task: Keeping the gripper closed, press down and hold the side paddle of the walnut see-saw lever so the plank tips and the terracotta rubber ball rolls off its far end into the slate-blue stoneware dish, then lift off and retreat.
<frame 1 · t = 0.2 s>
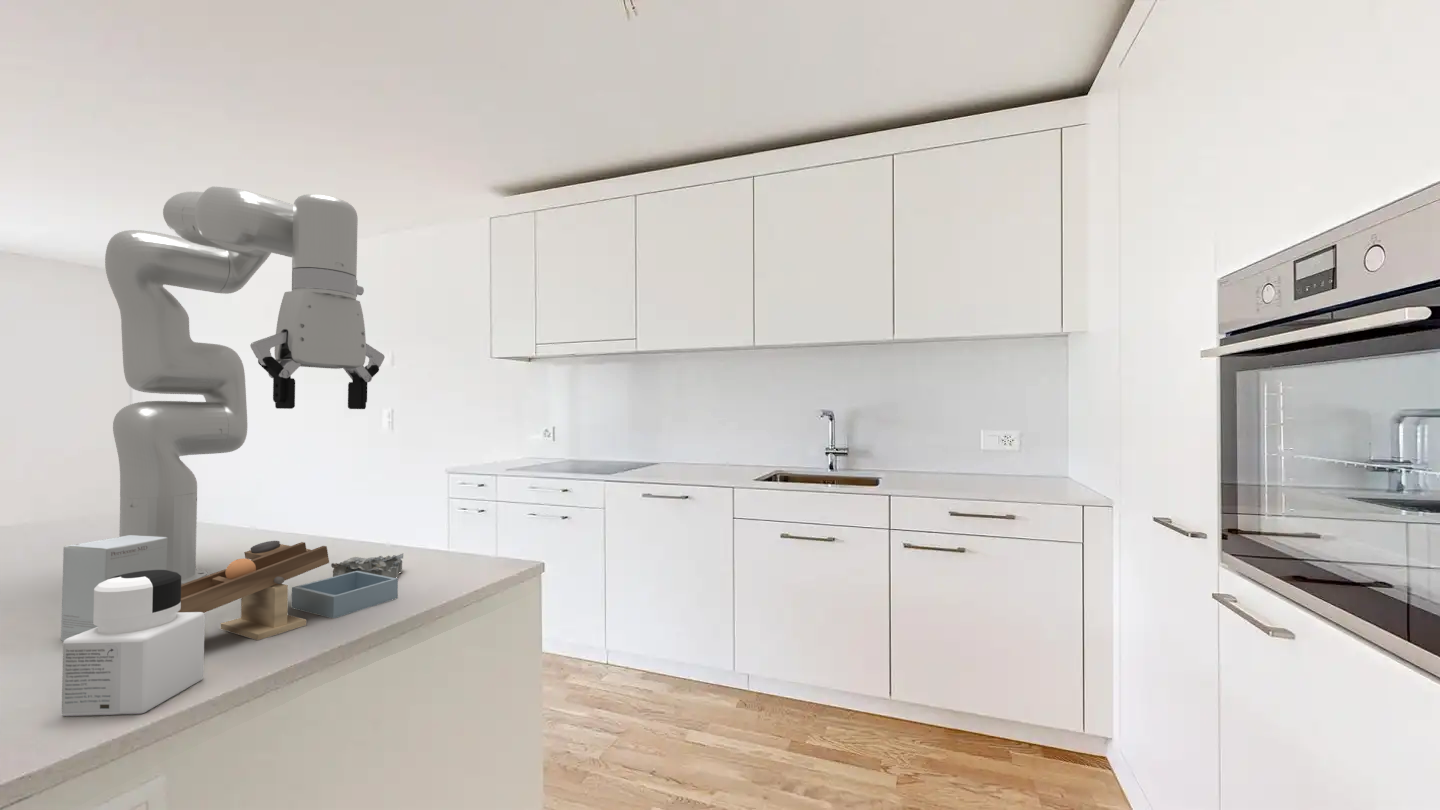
hand: (322, 408, 81), 31 cm above the counter, tool pointing down, fingers open, 9 cm apart
supplement box: (115, 635, 78), on the counter
lever: (224, 575, 80), point 7 cm above the counter, hinge at 10.0°, touching ball
egg carton: (368, 579, 105), on the counter
dish: (346, 604, 91), on the counter
ball: (240, 570, 78), point 9 cm above the counter, tilted 6°, touching lever
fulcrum: (263, 627, 81), on the counter
container: (137, 699, 61), on the counter
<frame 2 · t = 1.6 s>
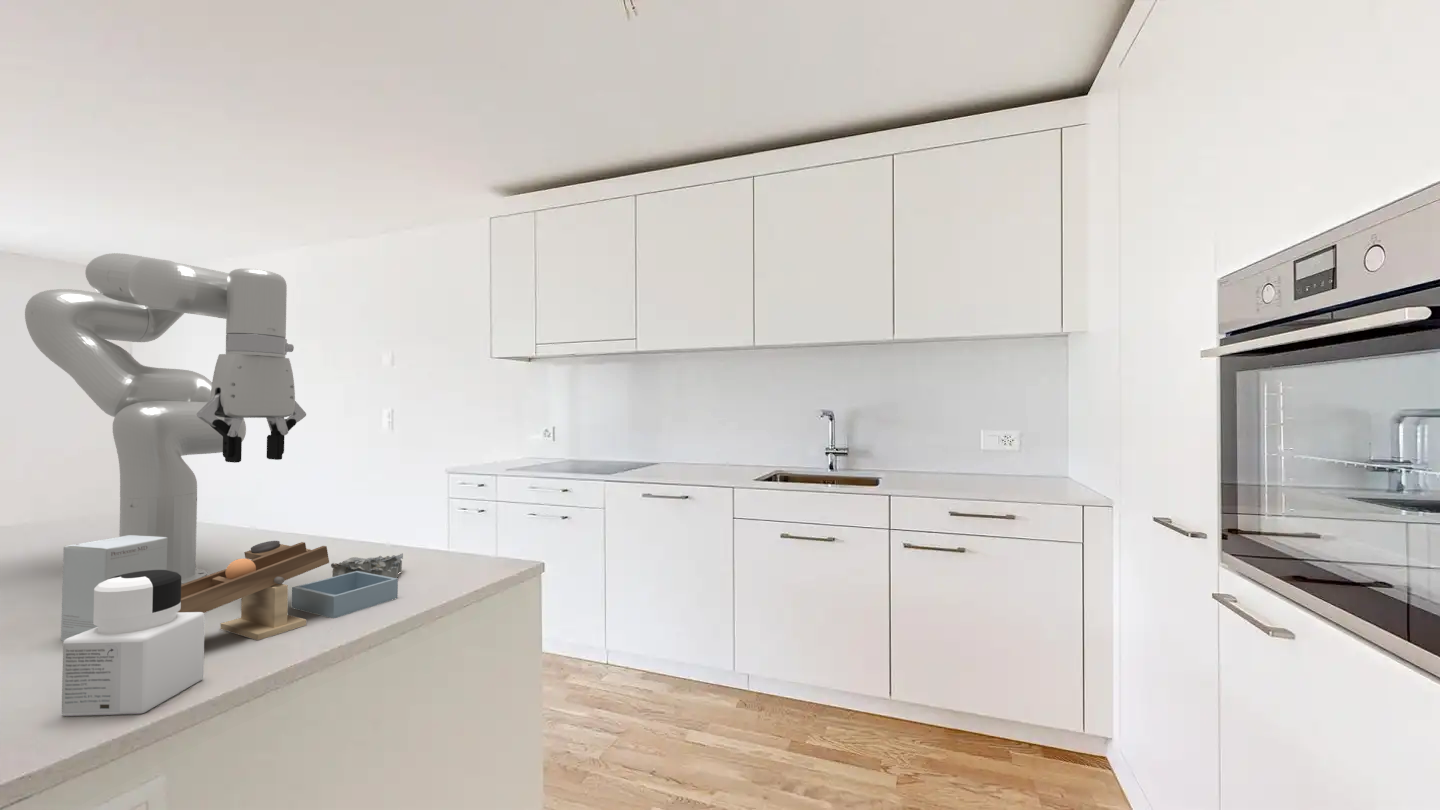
hand: (254, 459, 93), 22 cm above the counter, tool pointing down, fingers open, 5 cm apart
nothing on the counter moved.
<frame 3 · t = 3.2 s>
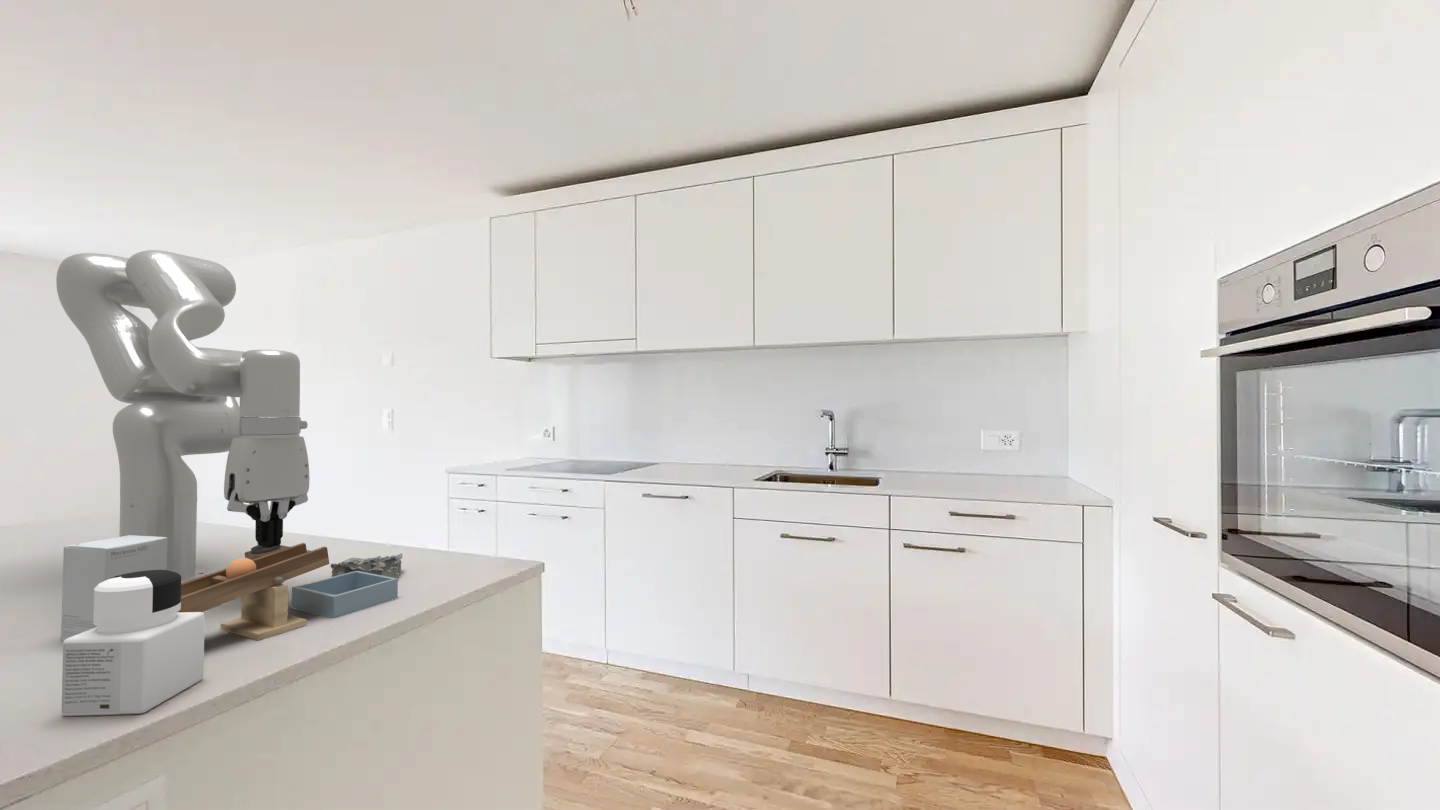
hand: (269, 544, 91), 9 cm above the counter, tool pointing down, fingers closed
lever: (224, 574, 80), point 7 cm above the counter, hinge at 8.5°, touching ball, gripper
everything else where it was.
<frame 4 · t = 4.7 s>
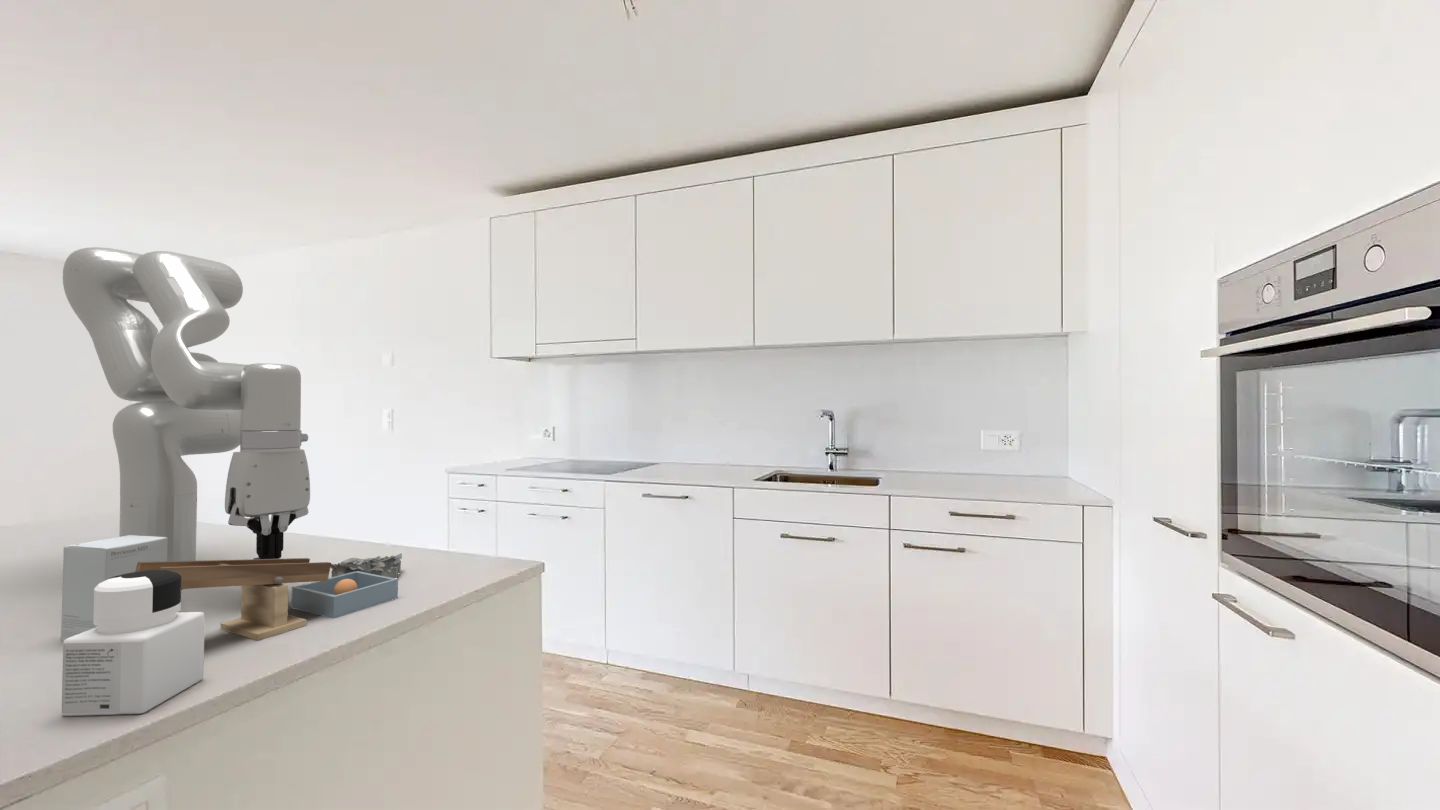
hand: (269, 558, 91), 7 cm above the counter, tool pointing down, fingers closed
lever: (227, 567, 81), point 8 cm above the counter, hinge at -11.6°, touching gripper
dish: (346, 605, 91), on the counter, touching ball
ball: (345, 589, 92), point 2 cm above the counter, tilted 151°, touching dish
everything else where it was.
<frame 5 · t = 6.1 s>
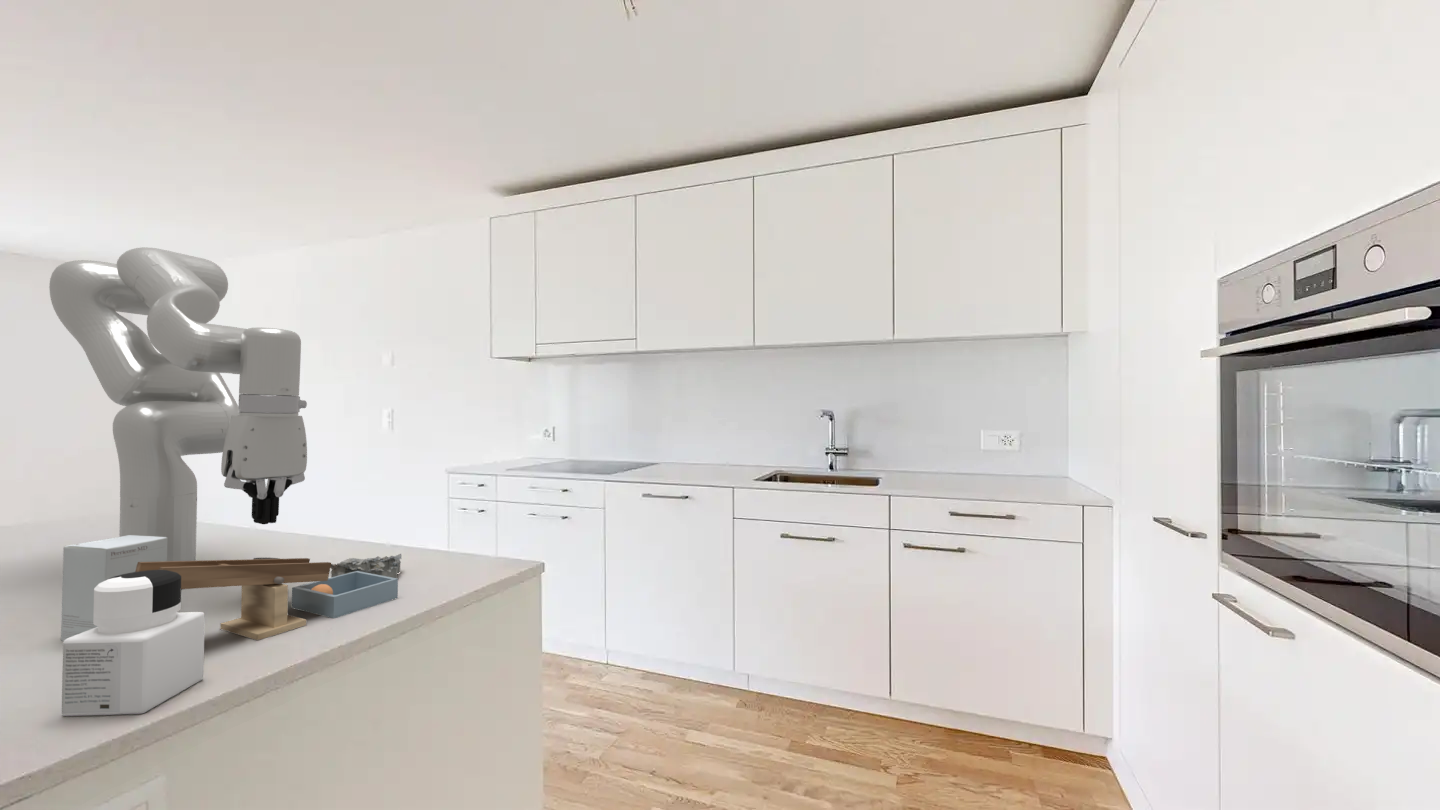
hand: (264, 522, 91), 13 cm above the counter, tool pointing down, fingers closed
lever: (227, 567, 81), point 8 cm above the counter, hinge at -11.6°
ball: (320, 594, 89), point 2 cm above the counter, tilted 92°, touching dish
everything else where it was.
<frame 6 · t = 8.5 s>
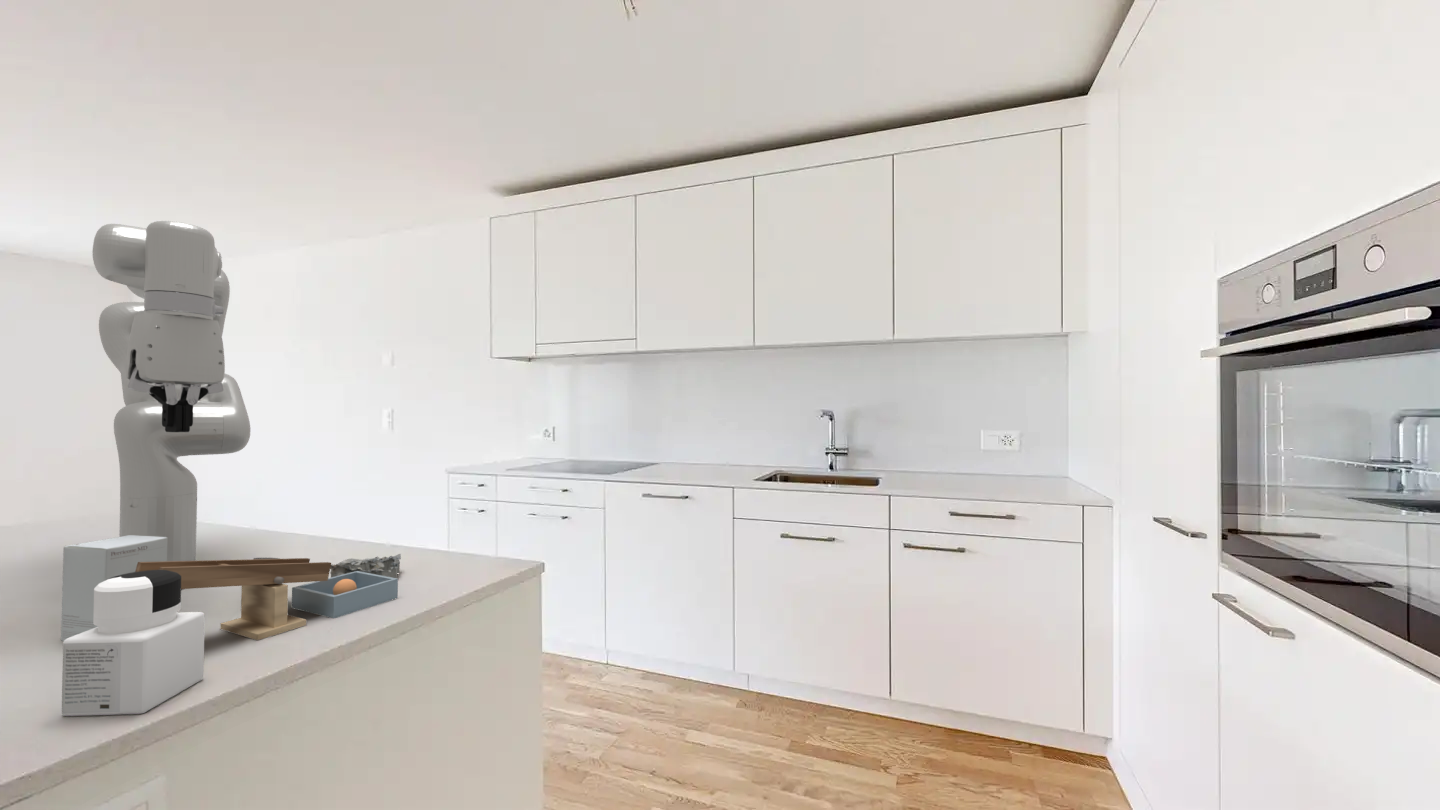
hand: (177, 431, 85), 27 cm above the counter, tool pointing down, fingers closed
ball: (344, 589, 92), point 2 cm above the counter, tilted 136°, touching dish
everything else where it was.
at the end: ball inside the target area on the dish (1.3 cm from its centre), point 2.2 cm above the dish's base; ball point 1.8 cm above the counter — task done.
